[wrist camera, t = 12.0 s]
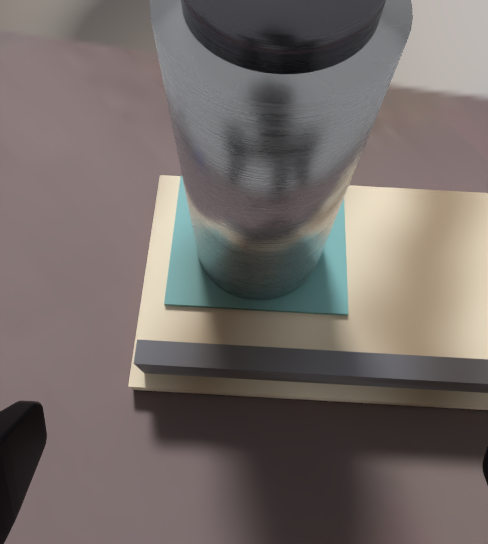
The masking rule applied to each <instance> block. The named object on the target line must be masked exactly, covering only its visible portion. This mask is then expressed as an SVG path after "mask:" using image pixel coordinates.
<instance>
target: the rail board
mask: <svg viewBox="0 0 488 544" xmlns="http://www.w3.org/2000/svg"><path fill="white" fill-rule="evenodd" d="M128 387H130V388H131V389H133V390H147V391H164V392H182V393H199V394H216V395H234V396H251V397H268V398H286V399H303V400H321V401H338V402H355V403H373V404H390V405H408V406H425V407H442V408H460V409H477V410H488V193H476V192H458V191H439V190H421V189H403V188H385V187H366V186H348V189H347V191H346V194H345V196H344V199H343V201H342V204H341V206H340V209H339V211H338V214H337V216H336V219H335V221H334V224H333V226H332V229H331V231H330V234H329V236H328V239H327V241H326V244H325V246H324V249H323V251H322V254H321V256H320V259H319V261H318V264H317V266H316V268H315V270H314V272H313V273H312V275H311V276H310V277H309V279H308V280H307V281H306V282H305V283H304V284H303V285H302V286H300V287H299V288H298V289H296V290H295V291H293V292H291V293H290V294H287V295H285V296H282V297H279V298H275V299H270V300H250V299H245V298H240V297H238V296H235V295H232V294H230V293H228V292H226V291H224V290H223V289H222V288H220V287H219V286H217V285H216V284H215V283H214V282H213V281H212V280H211V279H210V278H209V276H208V275H207V274H206V272H205V271H204V269H203V267H202V265H201V263H200V260H199V257H198V253H197V248H196V243H195V238H194V233H193V228H192V223H191V218H190V213H189V208H188V203H187V198H186V193H185V187H184V182H183V177H182V176H165V175H160V179H159V186H158V192H157V199H156V206H155V212H154V219H153V226H152V232H151V239H150V245H149V252H148V259H147V265H146V272H145V279H144V285H143V292H142V299H141V305H140V312H139V318H138V325H137V332H136V338H135V345H134V352H133V358H132V365H131V372H130V378H129V385H128Z"/></svg>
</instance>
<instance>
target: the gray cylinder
mask: <svg viewBox="0 0 488 544" xmlns="http://www.w3.org/2000/svg"><path fill="white" fill-rule="evenodd" d="M150 15H151V22H152V27H153V32H154V36H155V42H156V47H157V52H158V57H159V62H160V67H161V72H162V77H163V82H164V87H165V92H166V97H167V102H168V107H169V112H170V117H171V122H172V127H173V132H174V137H175V142H176V147H177V152H178V157H179V162H180V167H181V172H182V177H183V182H184V187H185V193H186V198H187V203H188V208H189V213H190V218H191V223H192V228H193V233H194V238H195V243H196V248H197V253H198V257H199V260H200V263H201V265H202V267H203V269H204V271H205V272H206V274H207V275H208V276H209V278H210V279H211V280H212V281H213V282H214V283H215V284H216V285H217V286H219V287H220V288H222V289H223V290H224V291H226V292H228V293H230V294H232V295H235V296H238V297H240V298H245V299H250V300H270V299H275V298H279V297H282V296H285V295H287V294H290V293H291V292H293V291H295V290H296V289H298V288H299V287H300V286H302V285H303V284H304V283H305V282H306V281H307V280H308V279H309V277H310V276H311V275H312V273H313V272H314V270H315V268H316V266H317V264H318V261H319V259H320V256H321V254H322V251H323V249H324V246H325V244H326V241H327V239H328V236H329V234H330V231H331V229H332V226H333V224H334V221H335V219H336V216H337V214H338V211H339V209H340V206H341V204H342V201H343V199H344V196H345V194H346V191H347V189H348V186H349V184H350V181H351V179H352V177H353V174H354V172H355V169H356V167H357V164H358V162H359V159H360V157H361V154H362V152H363V149H364V147H365V144H366V142H367V139H368V137H369V134H370V132H371V129H372V127H373V124H374V122H375V119H376V117H377V114H378V112H379V109H380V107H381V104H382V102H383V99H384V97H385V94H386V92H387V89H388V87H389V84H390V82H391V79H392V77H393V74H394V72H395V69H396V67H397V65H398V62H399V60H400V57H401V54H402V52H403V50H404V47H405V45H406V42H407V39H408V36H409V34H410V31H411V25H412V18H413V16H412V4H411V0H150Z"/></svg>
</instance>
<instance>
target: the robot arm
mask: <svg viewBox="0 0 488 544" xmlns="http://www.w3.org/2000/svg"><path fill="white" fill-rule="evenodd" d="M46 439H47V432H46V425H45V419H44V412H43V407H42V405H41V403H39V402H36V401H18V402H16V403H14V404H12V405H11V406H9V407H7V408H6V409H4V410H2V411H0V544H4V542H5V540H6V538H7V536H8V534H9V532H10V530H11V528H12V526H13V524H14V522H15V520H16V518H17V515H18V513H19V511H20V508H21V506H22V503H23V501H24V498H25V496H26V493H27V490H28V488H29V485H30V483H31V480H32V478H33V475H34V473H35V470H36V468H37V465H38V463H39V460H40V458H41V455H42V452H43V450H44V447H45V444H46ZM483 473H484V476H485V479H486V482H487V485H488V447H487V450H486V453H485V456H484V459H483Z"/></svg>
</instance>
